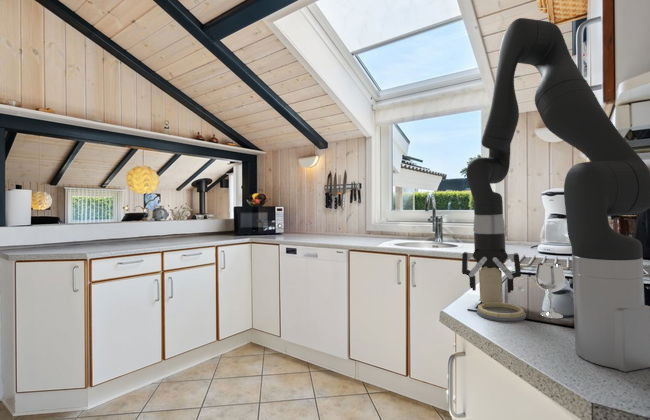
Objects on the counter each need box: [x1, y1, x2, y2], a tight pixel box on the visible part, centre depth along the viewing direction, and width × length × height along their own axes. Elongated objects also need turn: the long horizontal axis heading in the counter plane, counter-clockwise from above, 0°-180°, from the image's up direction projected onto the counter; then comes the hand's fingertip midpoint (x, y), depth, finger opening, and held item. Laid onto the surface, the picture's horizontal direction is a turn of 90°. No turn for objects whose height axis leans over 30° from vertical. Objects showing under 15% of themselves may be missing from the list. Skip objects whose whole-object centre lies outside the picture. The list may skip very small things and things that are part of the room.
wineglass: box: [535, 262, 566, 320], centre depth 80 cm, size 6×6×12 cm
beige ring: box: [476, 302, 526, 323], centre depth 82 cm, size 10×10×2 cm
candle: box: [478, 266, 504, 304], centre depth 92 cm, size 6×6×10 cm
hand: (491, 291), depth 93 cm, fingers open, 8 cm apart
